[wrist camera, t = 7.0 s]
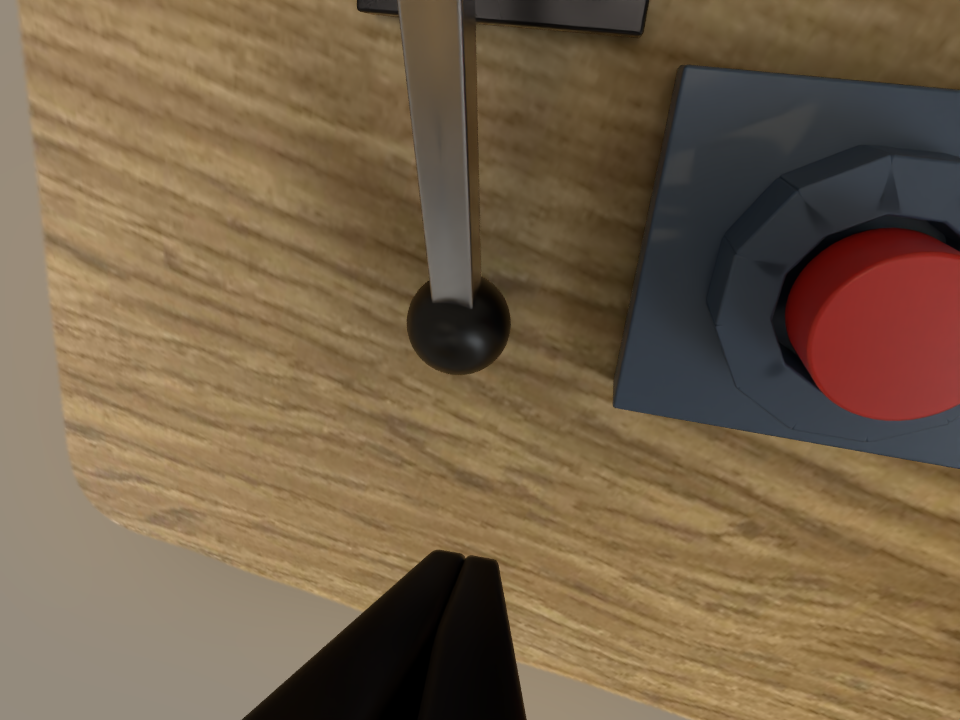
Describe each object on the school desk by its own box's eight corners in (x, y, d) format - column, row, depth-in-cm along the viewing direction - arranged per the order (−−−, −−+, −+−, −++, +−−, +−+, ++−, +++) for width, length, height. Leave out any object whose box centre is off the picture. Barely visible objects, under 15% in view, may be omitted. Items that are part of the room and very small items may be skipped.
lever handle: (517, 326, 18) (498, 403, 17) (427, 312, 19) (400, 385, 17) (561, -568, 7) (510, -608, 5) (318, -554, 7) (197, -587, 5)
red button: (996, 238, 13) (1058, 267, 11) (925, 390, 14) (969, 437, 13) (812, 215, 13) (842, 239, 11) (764, 364, 15) (783, 406, 13)
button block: (1133, 107, 14) (1281, 118, 11) (961, 441, 18) (1033, 520, 15) (678, 65, 15) (691, 63, 12) (613, 382, 19) (610, 442, 16)
